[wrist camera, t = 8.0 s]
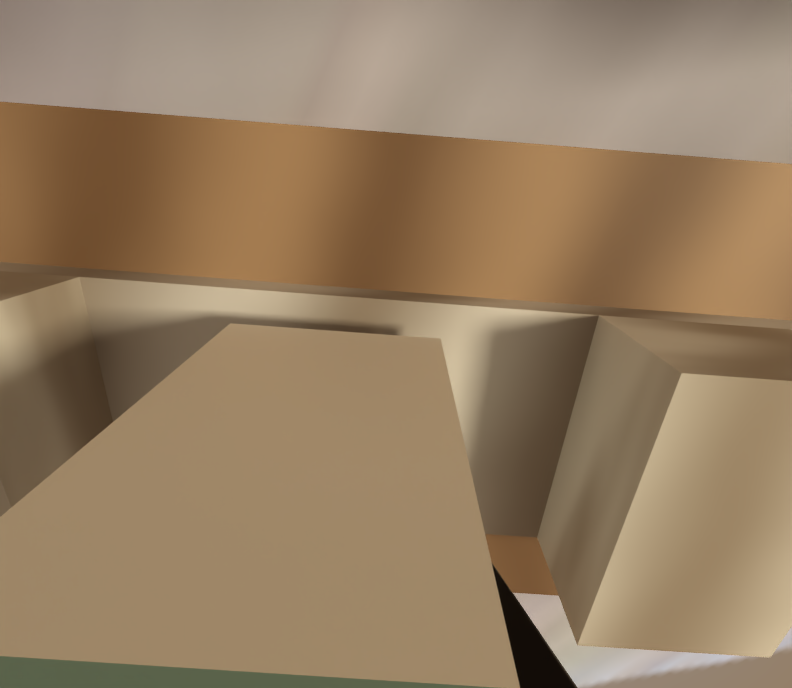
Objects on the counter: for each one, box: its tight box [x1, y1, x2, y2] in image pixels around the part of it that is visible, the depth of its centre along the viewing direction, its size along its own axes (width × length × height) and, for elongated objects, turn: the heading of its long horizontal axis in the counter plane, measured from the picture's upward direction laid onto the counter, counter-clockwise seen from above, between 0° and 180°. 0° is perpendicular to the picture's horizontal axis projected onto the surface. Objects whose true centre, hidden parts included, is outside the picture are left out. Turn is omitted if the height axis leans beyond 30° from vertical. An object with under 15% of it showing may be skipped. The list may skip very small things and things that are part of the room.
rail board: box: [0, 102, 792, 657], centre depth 10 cm, size 23×14×5 cm, turn 86°
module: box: [0, 323, 520, 688], centre depth 7 cm, size 4×6×7 cm
